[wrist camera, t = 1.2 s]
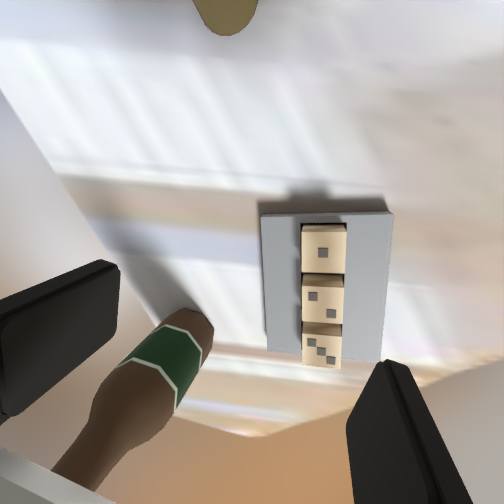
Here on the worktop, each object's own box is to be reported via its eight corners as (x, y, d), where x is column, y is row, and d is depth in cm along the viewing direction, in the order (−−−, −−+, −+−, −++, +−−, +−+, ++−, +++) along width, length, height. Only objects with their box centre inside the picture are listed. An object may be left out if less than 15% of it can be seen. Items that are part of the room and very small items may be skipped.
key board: (389, 211, 27) (394, 214, 25) (376, 351, 32) (379, 363, 30) (264, 214, 30) (260, 217, 28) (270, 341, 35) (267, 351, 33)
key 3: (339, 318, 30) (342, 337, 27) (338, 347, 31) (340, 369, 28) (303, 315, 31) (302, 334, 28) (304, 344, 32) (302, 365, 29)
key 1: (343, 224, 27) (346, 232, 23) (341, 260, 28) (344, 273, 25) (303, 224, 28) (301, 232, 24) (303, 260, 29) (301, 272, 26)
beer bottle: (201, 362, 39) (43, 622, 17) (158, 332, 39) (-53, 549, 17) (226, 328, 36) (75, 589, 14) (180, 296, 36) (-42, 500, 14)
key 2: (341, 273, 28) (344, 288, 25) (339, 306, 30) (342, 324, 26) (303, 272, 29) (301, 286, 26) (303, 304, 31) (302, 321, 27)
